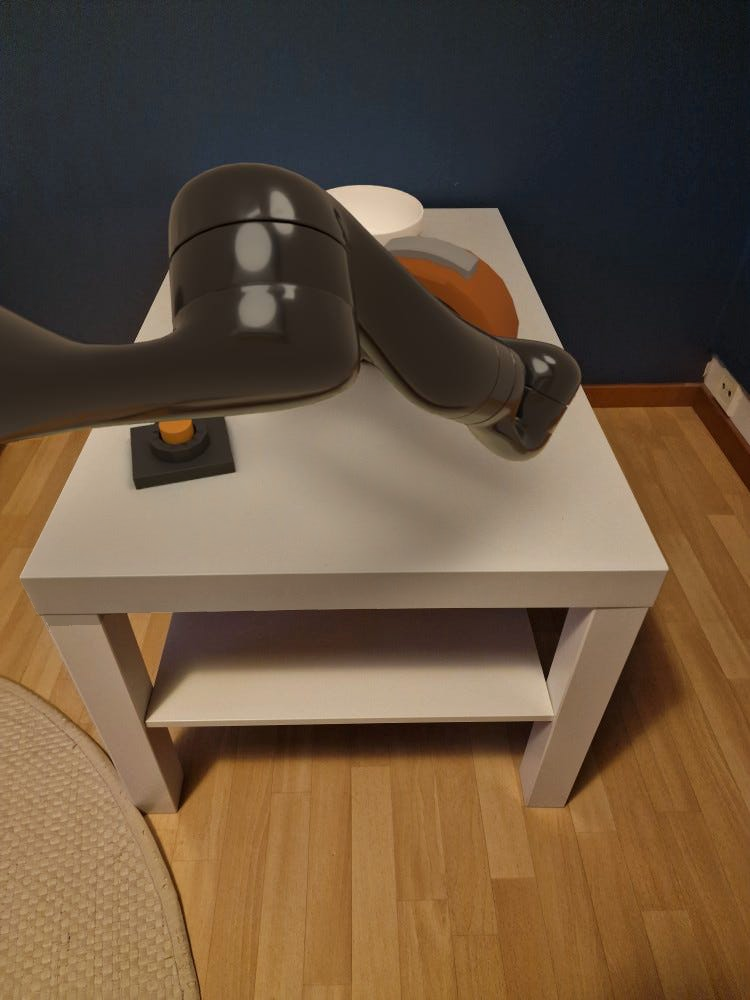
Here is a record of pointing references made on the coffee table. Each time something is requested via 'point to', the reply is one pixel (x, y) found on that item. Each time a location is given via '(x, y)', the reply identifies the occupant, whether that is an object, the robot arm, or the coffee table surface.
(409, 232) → the bowl
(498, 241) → the coffee table surface
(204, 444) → the push button panel
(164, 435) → the button
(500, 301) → the alarm clock
